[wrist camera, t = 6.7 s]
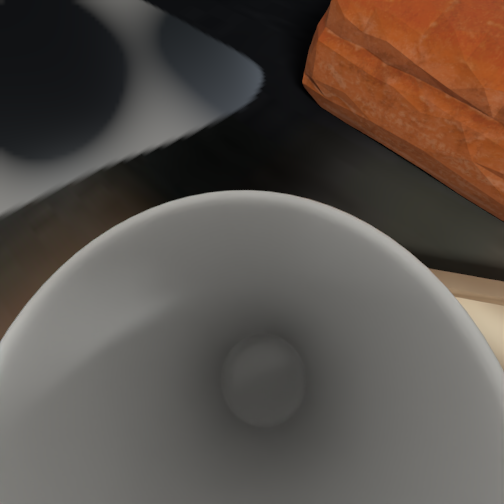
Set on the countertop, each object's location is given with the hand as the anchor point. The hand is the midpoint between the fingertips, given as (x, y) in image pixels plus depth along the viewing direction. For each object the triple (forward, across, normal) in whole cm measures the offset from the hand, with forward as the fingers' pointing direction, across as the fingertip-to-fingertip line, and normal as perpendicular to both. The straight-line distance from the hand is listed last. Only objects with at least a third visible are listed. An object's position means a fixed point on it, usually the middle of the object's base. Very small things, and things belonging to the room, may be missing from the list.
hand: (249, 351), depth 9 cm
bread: (+22, -22, -5) cm, 31 cm away
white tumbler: (+6, 0, +7) cm, 9 cm away
